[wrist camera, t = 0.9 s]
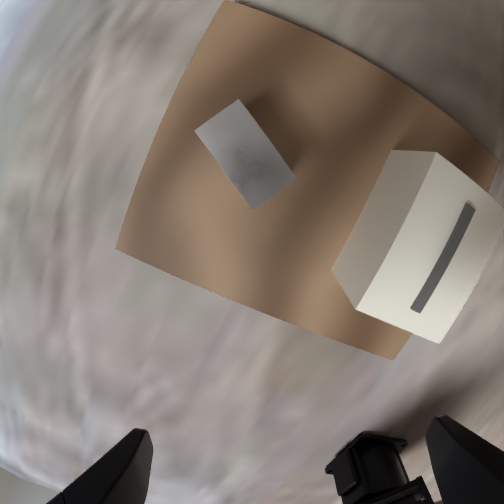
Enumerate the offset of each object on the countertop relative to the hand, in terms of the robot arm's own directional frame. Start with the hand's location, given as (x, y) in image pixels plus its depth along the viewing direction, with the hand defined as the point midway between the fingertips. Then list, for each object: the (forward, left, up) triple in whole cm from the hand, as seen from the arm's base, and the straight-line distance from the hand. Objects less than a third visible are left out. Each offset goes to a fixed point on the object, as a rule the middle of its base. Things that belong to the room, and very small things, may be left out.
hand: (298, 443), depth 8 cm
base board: (0, -6, -13) cm, 14 cm away
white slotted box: (-5, -6, -11) cm, 14 cm away
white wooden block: (+5, -6, -11) cm, 14 cm away
